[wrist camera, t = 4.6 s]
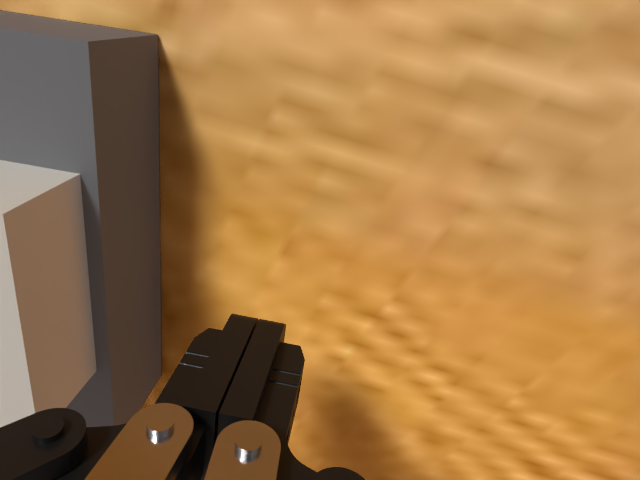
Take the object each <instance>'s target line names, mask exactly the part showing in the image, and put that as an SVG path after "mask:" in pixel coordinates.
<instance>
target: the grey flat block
mask: <svg viewBox="0 0 640 480" xmlns="http://www.w3.org/2000/svg"><path fill="white" fill-rule="evenodd" d="M0 160H4V161H9V162H15V163H21V164H27V165H32V166H38V167H44V168H49V169H55V170H61V171H66V172H72V173H78V174H80V179H81V191H82V203H83V215H84V227H85V238H86V250H87V262H88V274H89V286H90V298H91V310H92V321H93V333H94V345H95V357H96V369H97V371H96V372H95V373H94V374H93V376H92V377H91V378H90V379H89V380H88V382H87V383H86V384H85V385H84V387H83V388H82V389H81V390H80V391H79V393H78V394H77V395H76V396H75V397H74V399H73V400H72V401H71V402H70V403H69V405H68V406H67V407H66V408H68V409H72V410H75V411H77V412H78V413H80V414H81V415H82V416H83V417H84V419H85V421H86V427H100V426H114V425H121V424H126V423H128V421H129V420H130V419H131V417H132V416H133V415H134V414H135V413H137V412H138V411H139V410H140V408H141V407H142V405H143V404H144V402H145V400H146V399H147V397H148V396H149V394H150V393H151V391H152V389H153V388H154V386H155V385H156V383H157V382H158V380H159V378H160V377H161V375H162V356H161V263H160V171H159V78H158V35H157V34H151V33H144V32H138V31H131V30H125V29H118V28H112V27H105V26H99V25H92V24H86V23H80V22H73V21H67V20H60V19H54V18H47V17H41V16H34V15H28V14H21V13H15V12H8V11H2V10H0Z"/></svg>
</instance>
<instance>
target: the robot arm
mask: <svg viewBox="0 0 640 480" xmlns="http://www.w3.org/2000/svg"><path fill="white" fill-rule="evenodd" d="M285 329H286V324H283V323H278V322H273V321H268V320H262V319H259V320H258V319H257V318H252V317H247V316H242V315H236V314H231V315H230V317H229V319H228V321H227V323H226V325H225V327H224V329H223V330H222V331H221V330H216V329H211V328H208V329H207V330H205V331H204V332H202V333H201V334H200V335H198V336H197V337H195V338H194V340H193V341H192V343H191V345H190V346H189V348H188V350H187V352H186V354H185V355H184V356H183V358H182V360H181V361H180V365H178V366H177V368H176V370H175V371H174V373H173V375H172V376H171V378H170V380H169V381H168V383H167V385H166V386H165V388H164V389H163V391H162V393H161V394H160V396H159V398H158V399H157V401H156V403H155V404H153V405H150V406H147V407H145V408H143V409H141V410H139V411H138V412H137V413H135V414H134V415H133V416H132V417H131V419H130V420H129V421H128V423H126V424H121V425H114V426H100V427H86V421H85V419H84V417H83V416H82V415H81V414H80V413H78V412H77V411H75V410H72V409H68V408H51V409H46V410H43V411H40V412H37V413H34V414H32V415H30V416H27V417H25V418H22V419H20V420H17V421H15V422H13V423H10V424H8V425H5V426H3V427H0V480H365V479H364V478H363V477H362V476H360V475H359V474H357V473H356V472H354V471H352V470H349V469H346V468H341V467H331V468H326V469H323V470H321V471H319V472H318V473H317V472H315V471H314V470H312V469H310V468H308V467H306V466H305V465H303V464H302V463H300V462H299V461H298V460H297V459H296V458H295V457H294V456H293V454H292V453H291V451H290V449H289V447H288V442H289V437H290V433H291V429H292V425H293V421H294V416H295V412H296V408H297V404H298V398H299V392H300V386H301V380H302V374H303V367H304V361H305V359H304V356H303V353H302V350H301V347H300V346H298V345H292V344H287V343H284V337H285Z"/></svg>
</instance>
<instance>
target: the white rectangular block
mask: <svg viewBox="0 0 640 480" xmlns="http://www.w3.org/2000/svg"><path fill="white" fill-rule="evenodd" d="M96 371H97V369H96V357H95V345H94V333H93V321H92V310H91V298H90V286H89V274H88V262H87V250H86V238H85V227H84V215H83V203H82V191H81V179H80V174H78V173H72V172H66V171H61V170H55V169H49V168H44V167H38V166H32V165H27V164H21V163H15V162H9V161H4V160H0V427H3V426H5V425H8V424H10V423H13V422H15V421H17V420H20V419H22V418H25V417H27V416H30V415H32V414H34V413H37V412H40V411H43V410H46V409H51V408H66V407H67V406H68V405H69V403H70V402H71V401H72V400H73V399H74V397H75V396H76V395H77V394H78V393H79V391H80V390H81V389H82V388H83V387H84V385H85V384H86V383H87V382H88V380H89V379H90V378H91V377H92V376H93V374H94V373H95V372H96Z"/></svg>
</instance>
